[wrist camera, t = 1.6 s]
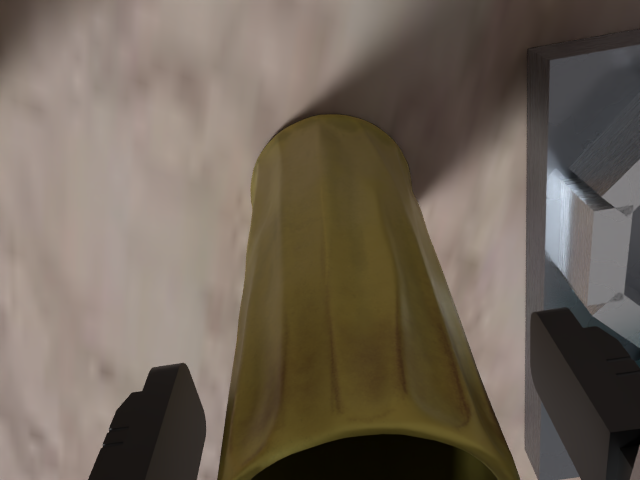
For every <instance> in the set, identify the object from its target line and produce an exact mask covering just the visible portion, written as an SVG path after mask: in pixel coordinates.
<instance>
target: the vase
mask: <svg viewBox="0 0 640 480" xmlns="http://www.w3.org/2000/svg"><path fill="white" fill-rule="evenodd" d="M251 203H252V219H251V227H250V233H249V239H248V246H247V254H246V271H245V281H244V288H243V295H242V300H241V306H240V313H239V321H238V332H237V343H236V349H235V356H234V362H233V369H232V376H231V383H230V390H229V397H228V404H227V411H226V419H225V427H224V434H223V442H222V449H221V456H220V464H219V471H218V478H217V480H520V477H519V474H518V471H517V469H516V466H515V463H514V460H513V457H512V455H511V452H510V450H509V448H508V445H507V443H506V440H505V438H504V436H503V433H502V431H501V428H500V426H499V423H498V421H497V418H496V416H495V413H494V411H493V408H492V406H491V403H490V401H489V398H488V396H487V393H486V391H485V388H484V385H483V383H482V380H481V378H480V375H479V372H478V369H477V367H476V364H475V361H474V358H473V355H472V352H471V350H470V347H469V344H468V341H467V338H466V335H465V332H464V330H463V327H462V324H461V321H460V318H459V316H458V313H457V310H456V307H455V305H454V302H453V299H452V296H451V293H450V291H449V288H448V285H447V282H446V279H445V277H444V274H443V271H442V268H441V266H440V263H439V260H438V258H437V255H436V252H435V250H434V247H433V245H432V242H431V240H430V237H429V234H428V231H427V228H426V225H425V222H424V218H423V215H422V212H421V209H420V207H419V204H418V202H417V200H416V198H415V196H414V194H413V192H412V185H411V176H410V171H409V167H408V164H407V162H406V159H405V157H404V155H403V153H402V151H401V150H400V148H399V147H398V145H397V144H396V143H395V142H394V141H393V139H392V138H391V137H390V136H388V135H387V134H386V133H385V132H384V131H382V130H381V129H380V128H378V127H377V126H375V125H373V124H371V123H370V122H367V121H365V120H363V119H359V118H356V117H352V116H348V115H339V114H325V115H316V116H312V117H309V118H306V119H303V120H301V121H299V122H297V123H294V124H292V125H290V126H289V127H287V128H285V129H283V130H282V131H281V132H279V133H278V134H277V135H276V136H275V137H274V138H273V139H272V140H271V141H270V142H269V143H268V144H267V145H266V147H265V148H264V149H263V151H262V152H261V154H260V155H259V157H258V159H257V161H256V164H255V167H254V170H253V175H252V180H251Z"/></svg>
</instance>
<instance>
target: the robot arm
mask: <svg viewBox="0 0 640 480" xmlns="http://www.w3.org/2000/svg"><path fill="white" fill-rule="evenodd" d="M530 368H531V375H532V379H533V383H534V386H535V389H536V391H537V393H538V395H539V397H540V399H541V401H542V403H543V405H544V407H545V409H546V411H547V413H548V415H549V417H550V419H551V421H552V423H553V425H554V427H555V429H556V431H557V433H558V435H559V437H560V439H561V441H562V443H563V445H564V447H565V449H566V451H567V452H568V454H569V456H570V458H571V460H572V462H573V464H574V466H575V468H576V470H577V472H578V474H579V476H580V478H581V480H640V368H639V366H638V365H637V364H636V362H635V361H634V360H632V359H631V356H630V355H629V353H628V352H627V351H626V350H625V348H624V347H623V346H622V344H621V343H620V342H619V341H618V339H616V338H615V337H613V336H612V335H610V334H608V333H607V332H605V331H604V330H602V329H600V328H599V327H597V326H593V327H586V328H583V327H582V326H581V324H580V323H579V322H578V320H577V319H576V317H575V316H574V315H573V313H572V312H571V311H570V309H569V308H567V307H563V308H556V309H550V310H543V311H536V312H532V314H531V318H530ZM205 437H206V420H205V414H204V410H203V407H202V404H201V401H200V399H199V396H198V393H197V390H196V388H195V385H194V382H193V379H192V377H191V374H190V371H189V369H188V367H187V365H186V364H185V363H180V364H173V365H166V366H159V367H153V368H152V369H151V370H150V372H149V374H148V377H147V380H146V382H145V385H144V388H143V391H140V392H133V393H131V394H130V395H129V397H128V398H127V399H126V400H125V401H124V402H123V404H122V405H121V406H120V407H119V408H118V409H117V410H116V413H115V415H114V418H113V420H112V423H111V425H110V428H109V433H107V435H106V437H105V440H104V442H103V448H101V449H100V452H99V454H98V457H97V459H96V462H95V464H94V467H93V469H92V471H91V474H90V476H89V479H88V480H197V475H198V471H199V466H200V461H201V456H202V451H203V447H204V442H205Z"/></svg>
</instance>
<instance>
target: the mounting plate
mask: <svg viewBox="0 0 640 480" xmlns="http://www.w3.org/2000/svg"><path fill="white" fill-rule="evenodd" d="M563 307H567V308H569V309H570V311H571V312H572V313H573V315H574V316H575V317H576V319H577V320H578V322H579V323H580V324H581V326H582V327H583V328H586V327H593V326H597V327H599V328H600V329H602V330H604V331H605V332H607V333H608V334H610V335H612V336H613V337H615V338H616V339H618V341H619V342H620V343H621V344H622V346H623V347H624V348H625V350H626V351H627V352H628V353H629V355H630V356H631V359H632V360H634V361H635V362H636V364H637V365H638V366H639V368H640V29H636V30H630V31H625V32H619V33H613V34H608V35H602V36H597V37H591V38H585V39H580V40H574V41H568V42H563V43H557V44H552V45H546V46H540V47H535V48H529V49H528V64H527V205H526V347H525V451H526V453H527V455H528V458H529V460H530V462H531V465H532V467H533V469H534V472H535V474H536V476H537V478H538V480H560V479H568V478H575V477H580V476H579V474H578V472H577V470H576V468H575V466H574V464H573V462H572V460H571V458H570V456H569V454H568V452H567V451H566V449H565V447H564V445H563V443H562V441H561V439H560V437H559V435H558V433H557V431H556V429H555V427H554V425H553V423H552V421H551V419H550V417H549V415H548V413H547V411H546V409H545V407H544V405H543V403H542V401H541V399H540V397H539V395H538V393H537V391H536V389H535V386H534V383H533V379H532V375H531V368H530V318H531V314H532V312H536V311H543V310H550V309H556V308H563Z"/></svg>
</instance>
